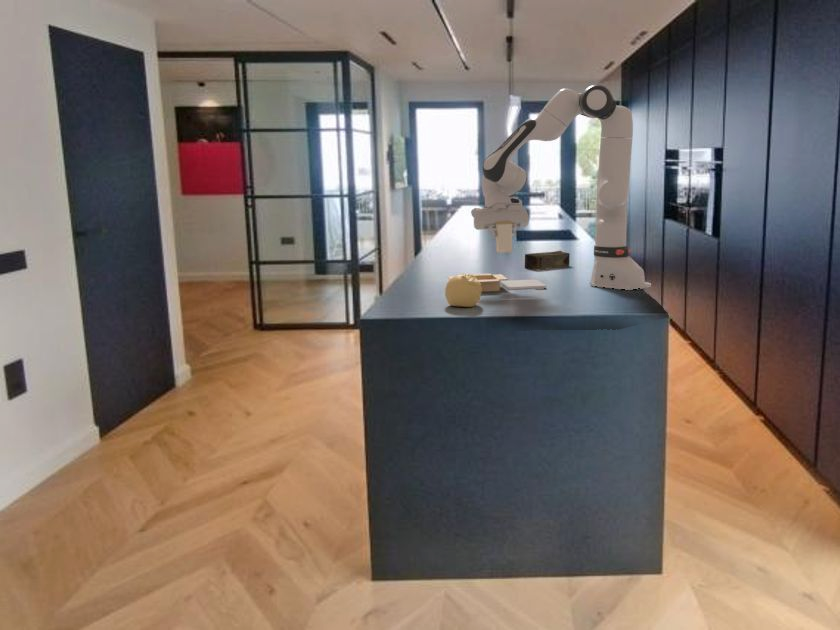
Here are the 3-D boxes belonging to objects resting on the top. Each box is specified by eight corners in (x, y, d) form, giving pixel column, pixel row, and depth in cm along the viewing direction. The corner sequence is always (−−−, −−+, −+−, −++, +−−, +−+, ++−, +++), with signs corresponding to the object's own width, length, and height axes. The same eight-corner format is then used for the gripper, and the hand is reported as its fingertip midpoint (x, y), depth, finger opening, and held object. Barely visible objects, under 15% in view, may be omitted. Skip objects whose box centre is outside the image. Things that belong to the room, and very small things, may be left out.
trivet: (500, 284, 285) (500, 280, 285) (536, 282, 286) (536, 279, 286) (508, 290, 271) (508, 287, 271) (546, 288, 273) (546, 285, 272)
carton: (446, 287, 281) (446, 275, 280) (499, 284, 283) (499, 273, 282) (453, 295, 264) (453, 282, 264) (509, 292, 266) (509, 280, 266)
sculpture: (484, 308, 241) (484, 275, 239) (447, 310, 240) (447, 276, 238) (479, 301, 252) (479, 270, 250) (443, 303, 251) (443, 271, 249)
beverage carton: (570, 266, 325) (570, 251, 324) (534, 270, 316) (534, 255, 315) (558, 264, 332) (558, 249, 330) (523, 268, 323) (523, 253, 321)
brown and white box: (495, 251, 276) (495, 221, 273) (509, 250, 276) (509, 220, 274) (498, 252, 271) (497, 222, 269) (512, 252, 271) (512, 221, 269)
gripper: (471, 202, 275) (477, 231, 268) (525, 199, 278) (533, 228, 270) (469, 213, 281) (475, 242, 273) (523, 210, 283) (530, 239, 275)
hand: (504, 235), depth 272 cm, fingers closed on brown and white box, 5 cm apart
